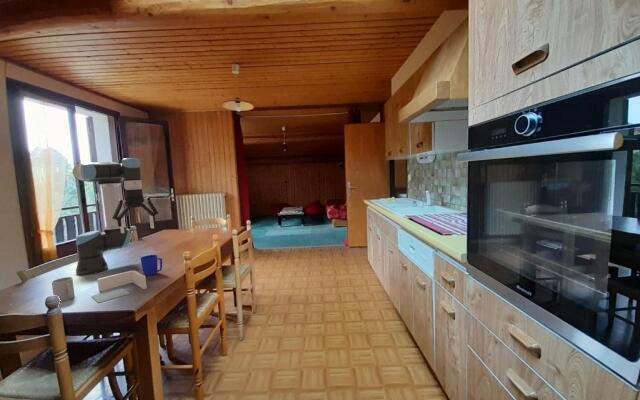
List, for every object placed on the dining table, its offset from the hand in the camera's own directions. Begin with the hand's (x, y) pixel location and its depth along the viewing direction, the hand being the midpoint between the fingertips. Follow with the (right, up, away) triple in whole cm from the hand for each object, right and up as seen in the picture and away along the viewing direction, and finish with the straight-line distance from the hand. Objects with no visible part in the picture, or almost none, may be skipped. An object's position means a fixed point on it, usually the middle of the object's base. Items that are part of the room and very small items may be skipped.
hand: (137, 230), depth 151 cm
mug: (0, -26, +14) cm, 30 cm away
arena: (-3, -28, -7) cm, 29 cm away
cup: (-24, -30, -15) cm, 41 cm away
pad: (-5, -29, -13) cm, 32 cm away
